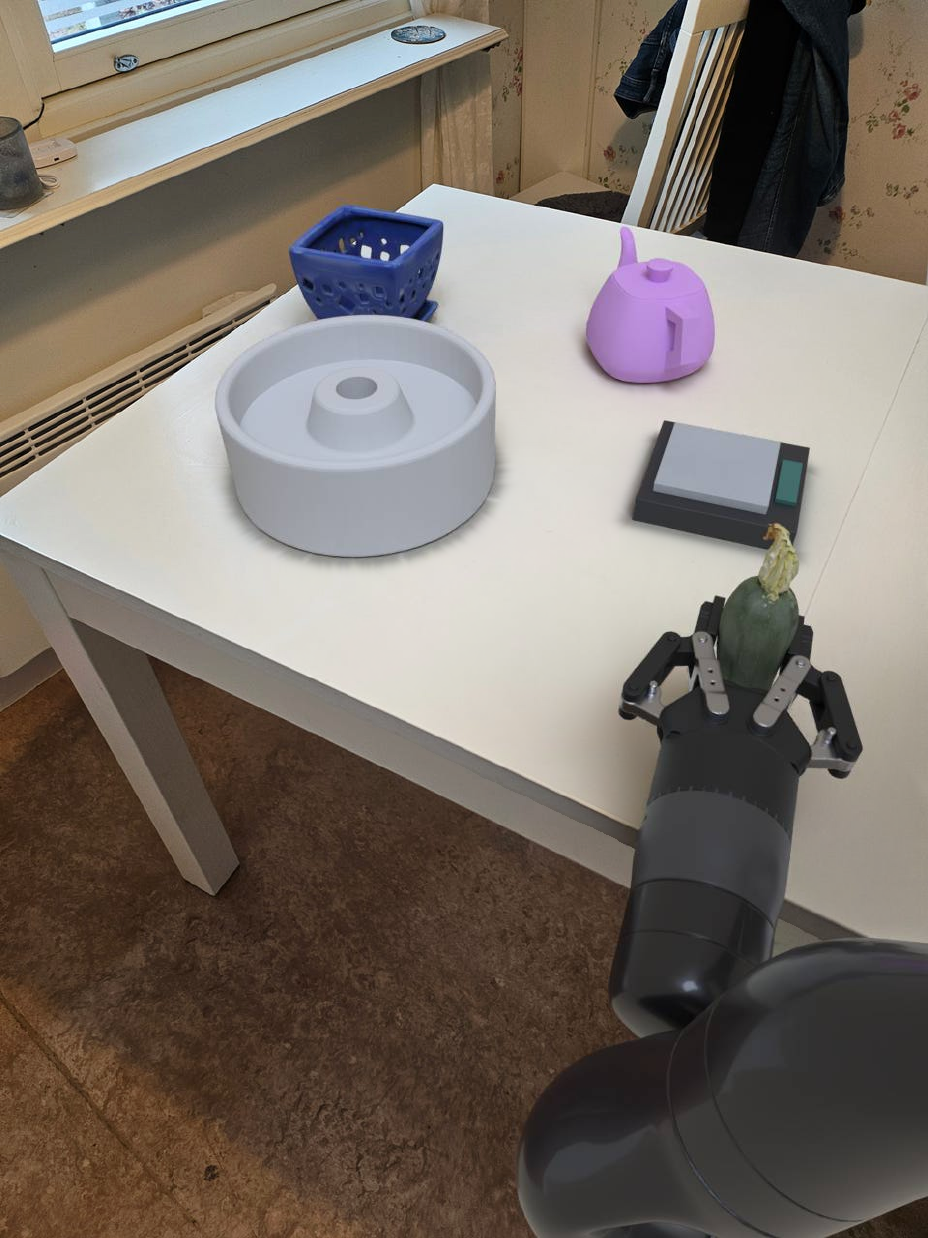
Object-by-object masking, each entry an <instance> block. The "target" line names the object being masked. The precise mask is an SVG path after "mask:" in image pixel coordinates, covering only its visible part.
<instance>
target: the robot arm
mask: <svg viewBox="0 0 928 1238" xmlns="http://www.w3.org/2000/svg"><path fill="white" fill-rule="evenodd" d="M726 599H727V598H726V597H724V596H720V595H716V594H715V595H714V597H713V601H712V602H711V601H708V600H705V601H704V602H702V604H701V605H700V608H699V611H698V614H697V619H696V622H695V626H694V631H693V633H692V634H690V635H688V636H681V635H680V634H679V633H677V632H676V631H670V630H669V631H665V632H664V633H663V634H662V635H661V636H660V637H659V638H658V640H657V641H656V643H655V644H654V645H653V646H652V647H651V649H650V650H649V651H648V652H647V653H646V655H645V656H644V658H643V659H641V661H640V662H639V663H638V665H637V666H636V668H634V669H633V671H632V673H630V675H629V676H628V677H627V679H626V680H625V681H624V683H623V686H622V689H621V693H620V698H619V702H618V704H619V705H618V709H617V713H618V715H619V717H620V718H621V719H623V720H625V721H633V720H635V719H637V718H640V719H642V720H643V721H645V722H647V723H649V724H650V725H652V726H654V727H656V734H657V737H658V739H659V743H660V748H659V753H658V757H657V760H656V765H655V769H654V773H653V776H652V780H651V784H650V788H649V793H648V797H647V801H646V805H645V808H644V813H643V816H642V821H641V825H640V826H639V828H638V830H637V834H636V845H635V849H634V853H633V859H632V868H631V878H630V879H631V880H630V888H629V893H628V897H627V902H626V905H625V909H624V914H623V918H622V921H621V927H620V931H619V935H618V939H617V942H616V948H615V951H614V955H613V958H612V962H611V967H610V972H609V977H608V985H607V996H608V1000H609V1004H610V1006H611V1008H612V1010H613V1012H614V1014H615V1016H616V1018H617V1019H618V1020H620V1022H621V1023H622V1024H623V1025H624V1026H625V1027H626V1028H627V1029H629V1030H630V1031H631V1032H632V1033H633V1034H634V1035H635V1036H636V1037H638V1038H636V1039H632V1040H628V1041H624V1042H620V1043H616V1044H612V1045H610V1046H609V1045H608V1046H606V1047H602V1048H600V1049H597V1050H595V1051H593V1052H590V1053H588V1054H585V1055H584V1056H582V1057H580V1058H578V1059H577V1060H575V1061H574V1062H572V1063H571V1064H570V1065H568V1066H566V1068H564V1069H563V1070H562V1071H560V1072H559V1073H558V1074H557V1075H556V1076H555V1077H554V1078H553V1079H552V1080H551V1082H550V1083H548V1085H547V1086H546V1087H544V1090H543V1091H542V1092H541V1093H540V1095H539V1096H538V1097H537V1099H536V1101H535V1102H534V1104H533V1106H532V1108H531V1109H530V1111H529V1113H528V1115H527V1118H526V1120H525V1123H524V1125H523V1128H522V1130H521V1133H520V1136H519V1139H518V1140H519V1141H518V1144H517V1150H516V1159H515V1184H516V1185H515V1186H516V1192H517V1196H518V1200H519V1204H520V1207H521V1211H522V1213H523V1215H524V1218H525V1220H526V1222H527V1223H528V1226H529V1227H530V1229H531V1231H532V1232H533V1234H534V1235H535V1236H536V1238H828V1237H830V1236H832V1235H835V1234H837V1233H840V1232H842V1231H845V1230H847V1229H850V1228H852V1227H855V1226H857V1225H859V1224H863V1223H864V1222H867V1221H870V1220H872V1219H875V1218H877V1217H879V1216H882V1215H884V1214H886V1213H888V1212H891V1211H893V1210H896V1209H898V1208H900V1207H903V1206H905V1205H908V1204H910V1203H912V1202H915V1201H917V1200H920V1199H923V1198H927V1197H928V942H918V941H910V940H899V939H890V938H877V937H876V938H875V937H843V938H833V939H827V940H821V941H820V940H819V941H816V942H810V943H807V944H803V945H799V946H795V947H792V948H790V949H788V950H786V951H784V952H781V953H779V954H777V955H775V956H773V955H774V954H773V953H774V946H775V938H776V937H775V935H776V931H777V926H778V923H779V919H780V915H781V912H782V909H783V906H784V901H785V898H786V897H785V896H786V890H787V884H788V875H789V867H790V859H791V851H792V841H793V834H794V825H795V815H796V807H797V800H798V790H799V784H800V783H799V782H800V778H801V777H802V776H803V775H804V774H805V773H806V770H807V769H824V770H825V769H826V770H827V772H828V774H830V776H831V777H833V778H836V779H839V780H844V779H847V778H848V777H849V775H850V773H851V771H852V770H853V768H854V766H855V765H856V763H857V761H858V760H859V758H860V756H861V754H862V752H863V750H864V746H863V742H862V740H861V736H860V733H859V730H858V727H857V724H856V720H855V718H854V714H853V711H852V707H851V704H850V702H849V697H848V695H847V691H846V689H845V686H844V682H843V679H842V677H841V676H840V675H839V674H838V672H835V671H833V670H825V671H823V672H822V671H821V670H819V669H817V668H816V667H814V666H813V664H812V662H811V657H812V648H813V647H812V646H813V639H814V630H813V628H812V625H808V624H805V619H806V618H805V616H804V615H800V614H799V621H798V626H797V629H796V632H795V635H794V637H793V640H792V642H791V644H790V646H789V648H788V650H787V653H786V655H785V658H784V661H783V663H782V665H781V667H780V668H779V670H778V676H777V678H775V680H774V682H773V684H772V687H771V689H770V690H769V691H768V690H764V689H760V688H749V687H742V686H740V685H738V684H736V683H734V682H732V681H729V680H725V679H723V678H722V673H721V668H720V663H719V659H717V655H716V651H715V645H716V643H717V636H718V631H719V624H720V619H721V614H722V612H723V609H724V606H725V603H726V601H727V600H726ZM676 667H685V668H686V674H687V680H688V689H687V693H685V694H684V695H682V696H681V697H678V698H677V699H676V700H674V701H672V702H671V703H669V704H667V705H666V706H665V705H664V704H662V702H661V700H662V699H661V698H662V694H663V690H662V688H661V686H662V685H663V684H664V682H665V681H666V679H667V678H668V677H669V676H670V674H671V673H672V671H673V670H674V669H675V668H676ZM798 696H800V697H802V698H804V699H806V700H808V704H809V707H810V711H811V714H812V717H813V721H814V725H815V730H816V733H817V734H816V737H815V739H814V740H813V743H812V744H810V742H809V741H808V739H807V738H806V736H805V735H804V734H803V733H802V731H801V729H800V728H799V726H798V724H797V723H796V722H795V721H794V719H793V717H792V716H791V714H790V712H789V711H790V709H791V708H792V706H793V704H794V703H795V701H796V699H797V698H798Z"/></svg>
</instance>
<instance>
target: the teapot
mask: <svg viewBox="0 0 928 1238" xmlns="http://www.w3.org/2000/svg"><path fill="white" fill-rule="evenodd" d="M619 234H620V242H621V243H620V244H621V245H620V246H621V247H620V257H619V259H618V264H617V268H616V269H615V270H613V271H612V272H611V273H610V274H609V276H608V277H607V279H606V280H605V282H604V284H603V285H602V287H601V288H600V290H599V292H598V293H597V296H596V297H595V299H594V301H593V303H592V306H591V308H590V311H589V314H588V318H587V321H586V328H585V338H586V342H587V345H588V347H589V349H590V351H591V353H592V355H593V357H594V358H595V360H596V361H597V363H598V364H599V366H600V367H601V368H602V369H603V370H604V372H606V373H607V374H608V375H609V376H611V377H612V378H614V379H616V380H619V381H622V382H626V383H627V382H628V383H636V384H637V383H639V384H640V383H641V384H645V383H647V384H648V383H661V382H669V381H674V380H677V379H680V378H684V377H687V376H690V375H691V374H693V373H696V371H698V370H699V369H700V368H701V367H702V366H704V365H705V364H706V362H708V360H709V359H710V358H711V356H712V355H713V351H714V348H715V339H716V324H715V317H714V311H713V306H712V302H711V298H710V295H709V292H708V289H707V287H706V285H705V282H704V281H703V279H702V278H701V277H700V276H699V275H698V274H697V273H696V272H695V271H694V270H693V269H692V268H691V267H689V266H688V265H686V264H684V263H683V262H679V261H674V260H670V259H666V258H662V257H660V258H659V257H658V258H651V259H649V260H648V261H647V260H646V261H639V262H638V254H637V247H636V241H635V236H634V234H633V232H632V230H631V229H630V228H629V227H628V226H625V225H624V226H621V227H620V229H619Z"/></svg>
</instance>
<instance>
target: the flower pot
mask: <svg viewBox="0 0 928 1238" xmlns="http://www.w3.org/2000/svg"><path fill="white" fill-rule="evenodd" d="M361 234H362V235H361ZM351 239H353V240H355V243H352V242H351ZM341 240H342V243H343V250H342V249H341V245H340V241H341ZM382 240H385V243H383V241H382ZM443 241H444V222H443V221H442V220H440V219H436V218H431V217H427V216H420V215H415V214H409V213H404V212H398V211H391V210H384V209H379V208H372V207H365V206H359V205H348V204H343V205H341V206H339V207H337V208H336V209H334V210H333V211H331V212H330V213H329V214H327V215H326V216H325V217H323V218H322V219H321V220H320V221H318V222H317V223H316V224H314V225H313V226H312V227H311V228H309V229H308V230H307V231H305V233H303V234H302V235H301V236H299V238H297V240H295V241H294V242H293V243H292V245H290V247H289V249H288V255H289V260H290V261H289V262H290V264H291V265H290V266H291V268H292V271H293V275H294V278H295V281H296V284H297V285H298V288H299V290H300V293H301V294H302V297H303V298H304V301H305V303H306V304H307V306H308V307H309V309H310V311H311V312H312V313H313V315H314V316H315V317H316V319H317V320H321V319H327V318H333V317H342V316H353V315H385V316H396V317H404V318H410V319H415V320H419V321H424V322H428V321H429V320H430V319H431V318H432V317H433V315H434V314H435V313H436V311H437V309H438V307H439V305H438V304H439V303H438V302H437V301H435V300H430V299H428V297H429V295H430V293H431V291H432V288H433V286H434V283H435V280H436V277H437V273H438V269H439V266H440V262H441V256H442V249H443ZM363 246H365V247H368V248H370V249H371V250H370V251H371V252H370V258H369V257H364V256H362V247H363ZM402 246H407V247H408V248H406V249H405V250H404V251H403V252H401V250H402V249H401V247H402ZM382 253H386V254H388V259H387V260H383V259H382V258H381V255H382Z"/></svg>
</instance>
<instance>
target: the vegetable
mask: <svg viewBox="0 0 928 1238" xmlns="http://www.w3.org/2000/svg"><path fill="white" fill-rule="evenodd" d="M768 525H770V526H772V527H769V529H768V532H767V534H766V537H763V539H764V540H768V539H772V538H774V540H775V541H774V543H773V545H772V546H771V547H770V548H769V549H767V552H766V553H765V555H764V560H763V562H762V565H761V567H760V569H759V571H758V574H757V575H754V576H751V577H748V578H746V579H744V580H743V581H741V582H740V583H738V585H737V586H736V588H735V589H734V590H733V591H732V592H731V594H730V595H729V597H728V598H726V599H727V600H725V604H724V609H723V612H722V614H721V619H720V624H719V631H718V636H717V639H716V642H715V645H716V659H719V663H720V668H721V673H722V678H723V679H725V680H729V681H732V682H734V683H736V684H738V685H740V686H742V687H749V688H760V689H764V690H768V691H769V690H770V689H771V687H772V686H773V684H774V682H775V680H776V677H777V675H778V674H779V671H780V667H781V665H782V663H783V661H784V658H785V655H786V653H787V650H788V648H789V646H790V644H791V642H792V640H793V637H794V635H795V632H796V629H797V626H798V621H799V615H800V609H799V603H798V600H797V597H796V594H795V592H794V591H793V589H792V588H791V587H790V586H791V582H792V581H793V580H794V579H795V578H796V577H797V575H798V573H799V570H800V568H799V567H800V561H799V558H798V556H797V554H796V551H797V549H796V548H795V547H794V546H793V545H791V542H790V540H789V535H790V533H789V532H788V531H787V530H786V529H785V528H784V527H782V526H781V525H780V524H777V523H775V524H768ZM772 535H773V536H772Z"/></svg>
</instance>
